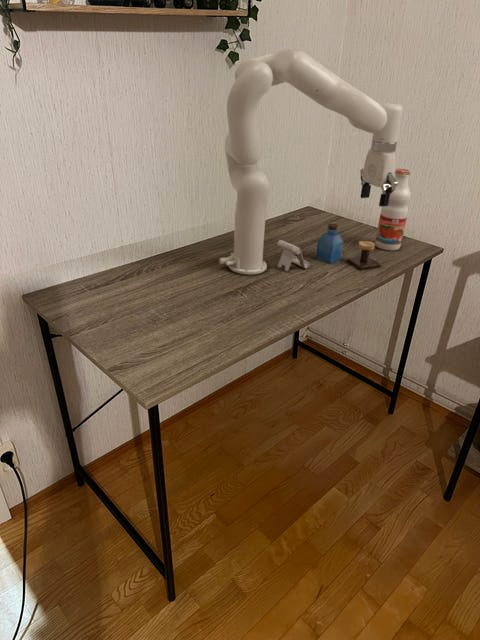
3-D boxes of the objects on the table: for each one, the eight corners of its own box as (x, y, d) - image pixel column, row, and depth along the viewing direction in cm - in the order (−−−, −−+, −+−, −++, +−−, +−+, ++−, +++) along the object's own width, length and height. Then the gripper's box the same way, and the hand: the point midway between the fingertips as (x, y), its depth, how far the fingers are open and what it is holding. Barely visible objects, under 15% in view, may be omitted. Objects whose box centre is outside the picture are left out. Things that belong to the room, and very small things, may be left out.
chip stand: (360, 270, 164) (363, 253, 161) (346, 260, 170) (349, 244, 167) (380, 266, 166) (383, 250, 164) (365, 258, 173) (368, 242, 170)
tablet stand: (308, 268, 163) (311, 244, 159) (291, 273, 159) (294, 249, 154) (290, 259, 169) (292, 236, 164) (273, 264, 164) (275, 241, 160)
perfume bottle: (315, 257, 171) (319, 224, 165) (326, 253, 175) (330, 221, 169) (330, 263, 167) (335, 229, 161) (340, 258, 171) (345, 225, 165)
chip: (364, 251, 162) (365, 247, 161) (355, 245, 166) (355, 241, 166) (377, 249, 164) (378, 245, 163) (367, 243, 168) (368, 240, 167)
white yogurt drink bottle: (399, 243, 187) (415, 168, 173) (401, 252, 179) (418, 174, 165) (374, 240, 189) (388, 165, 175) (374, 249, 181) (389, 171, 167)
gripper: (356, 142, 157) (348, 195, 165) (391, 153, 143) (381, 210, 152) (375, 141, 160) (366, 193, 168) (412, 152, 146) (400, 208, 155)
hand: (373, 201), depth 160 cm, fingers open, 9 cm apart
